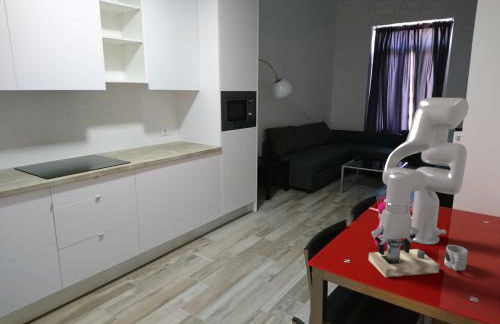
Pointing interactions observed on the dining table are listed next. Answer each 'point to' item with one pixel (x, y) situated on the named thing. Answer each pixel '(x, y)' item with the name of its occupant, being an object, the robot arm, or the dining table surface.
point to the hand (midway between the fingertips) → (393, 252)
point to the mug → (456, 257)
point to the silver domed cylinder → (393, 251)
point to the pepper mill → (380, 209)
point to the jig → (405, 263)
